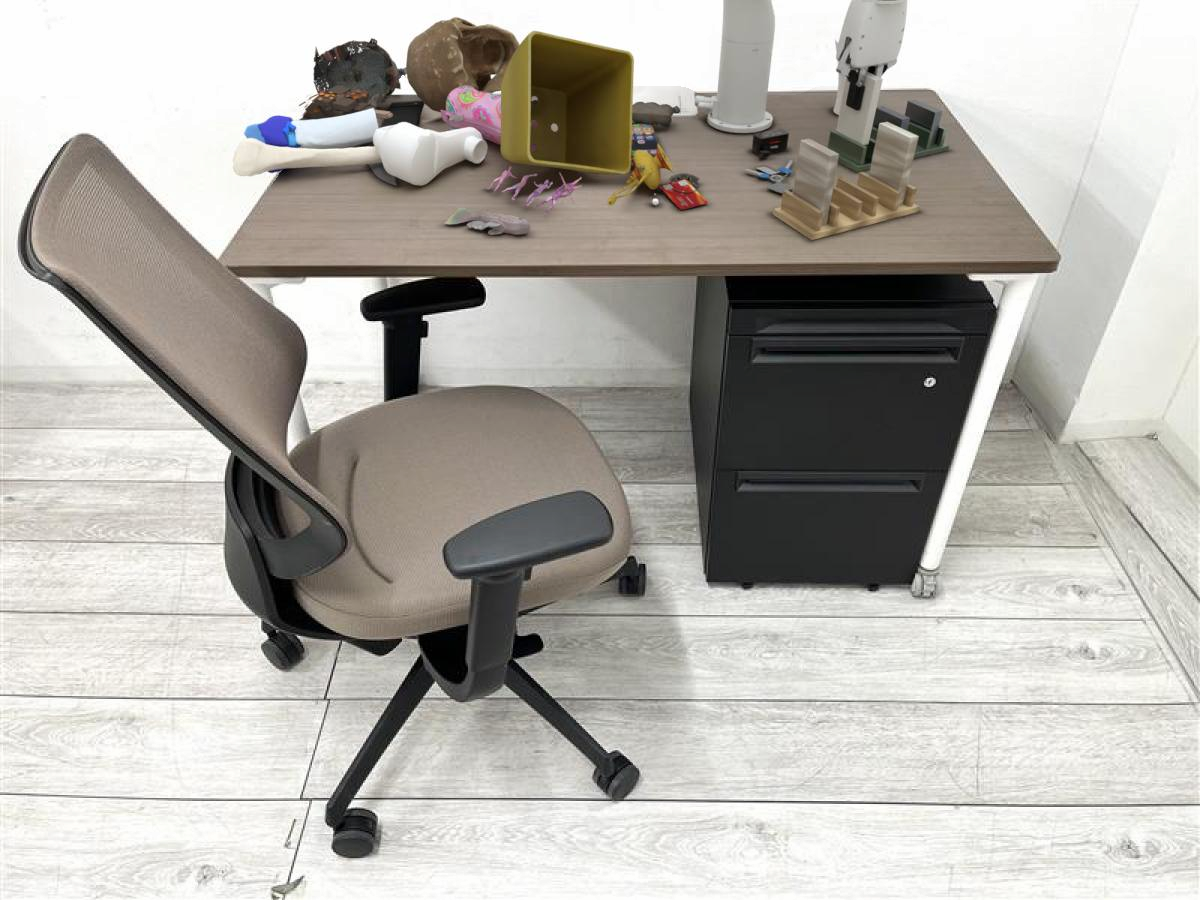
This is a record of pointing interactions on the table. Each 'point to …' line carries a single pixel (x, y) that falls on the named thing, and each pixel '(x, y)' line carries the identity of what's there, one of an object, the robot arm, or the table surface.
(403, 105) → the smartphone
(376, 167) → the knife
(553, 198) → the people figure
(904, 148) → the beige rack
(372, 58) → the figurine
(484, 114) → the pencil case
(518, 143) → the flower pot
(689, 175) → the corroded twin loop
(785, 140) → the wireless earbuds
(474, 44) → the skull
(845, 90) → the white book
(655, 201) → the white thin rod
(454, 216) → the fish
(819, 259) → the table surface
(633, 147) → the smartphone
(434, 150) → the white plastic bottle
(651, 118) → the rhino figurine
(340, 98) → the video game creature
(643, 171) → the magic lamp
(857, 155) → the green rack
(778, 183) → the key chain
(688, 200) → the card
